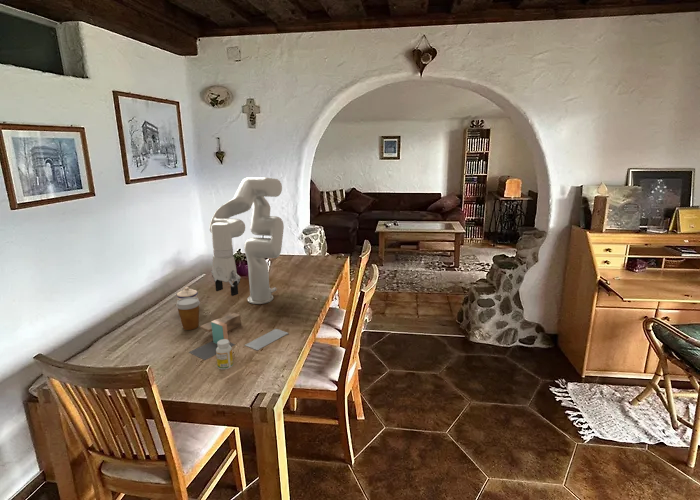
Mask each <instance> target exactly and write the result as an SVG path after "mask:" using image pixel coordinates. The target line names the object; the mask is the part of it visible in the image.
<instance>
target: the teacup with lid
mask: <svg viewBox="0 0 700 500" xmlns="http://www.w3.org/2000/svg"><path fill="white" fill-rule="evenodd" d="M198 293H199V292H198V290H196V289H192V288H189V287H188V286H186V287H184V288H183V289H182V290H181V291H179V292H177V294H176V297H177V301H178V300H180V299H182V298H187V297H196V298H198V299H199V294H198Z"/></svg>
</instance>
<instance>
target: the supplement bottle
mask: <svg viewBox="0 0 700 500" xmlns="http://www.w3.org/2000/svg"><path fill="white" fill-rule="evenodd" d="M229 342H230V340H229V339H228V340H227V339H222V340H219V341H218V342H217V346H218V347H217V348H216V355H215V356H216V364H217V368H218V369H219V370H228V369H230V368H232V367H233V366H234V358H233V346H232V347H231V346H230V345H229V344H230V343H229Z"/></svg>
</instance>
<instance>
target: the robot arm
mask: <svg viewBox="0 0 700 500" xmlns="http://www.w3.org/2000/svg"><path fill="white" fill-rule="evenodd" d="M238 185H239V186H238V188H237V189H236V191H235V193H234V196H233V198H232V199H230V200H227V202H225V203H224V204H222V205H221V206H220V207H218V208H217V209H216V210H215V212H214V214H213V216H212V217H211V219H210V223H209V231H210V233H211V241H212V250H213V255H212V269H211V270H210V272H211V275H212V278H213V282H215V284H214V286H215V291H216V292H219V291H222V290H223V289H224V285H223V283H229V285H231V286H230V296H231V297H234V296H237V295H239V284H240V281H241V278H242V277H241V276H240V275H239V274H238V273H237V265H236V260H235V257H234V249H233V238H239V237H240V236H242V235H243V234H244V233H245V231H246V224H245V222H244V221H243V220H242V219H239V218H231V217H234V216H237V215H241V214H244V213H246V212H248V211H249V210H250V209H251V208H252V213H251V220H250V232H251V234H253V235H255V236H265V237H250V238H248V239H246V240H245V242H244V245H243V248H244V254H245V257H246V261H247V262H246V263H247V269H248V270H247V271H248V283H249V285H248V286H249V294H250V295H249V296H248V297H247V299H246V300H247V303H249V304H251V305H252V304H253V305H261V304H262V305H263V304H267V303H270V302H272V301H273V299H274V296H273V294H272V293H275V292H276V291H277V287H273V288H271V287H270V277H269V276H270V275H269V264H268V262H267V261H266V259H277V258H279V257H280V255H281V252H282V247H283V237H284V226H285V225H284V220H282V218H281V217H279V216H275V215H274V216H273V215H272V216H271V204H270V203H269V201H268V200H267V198H266V197H268V198H269V197H270V198H272V197H273V198H276V197H277V198H278V197H279V196H280V195H281V193H283V192H282V191H283V185H282V183H281V180H280V179H278V178H272V177H271V178H270V177H263V176H261V177H260V176H259V177H258V176H249V177H245V178H243V179H242V180H241V182H240V184H238ZM269 237H270V238H269Z"/></svg>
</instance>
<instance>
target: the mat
mask: <svg viewBox="0 0 700 500" xmlns="http://www.w3.org/2000/svg"><path fill="white" fill-rule="evenodd" d="M229 343H230V344H229V345H230V346H231V347H232V348H233V347H234V346H236V344H235V343H233V342H231V341H229ZM217 347H218V346H217V344H215V343H213V340H211V341H210V342H207V343H205V344H203V345H200V346H198V347H197V348H194V349H193V350H190V351H189V352H188V354H191V355H193V356H195V357H197V358H199V359H202V360H203V361H207V360H208V359H210V358H212V357H214V356H216V348H217Z"/></svg>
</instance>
